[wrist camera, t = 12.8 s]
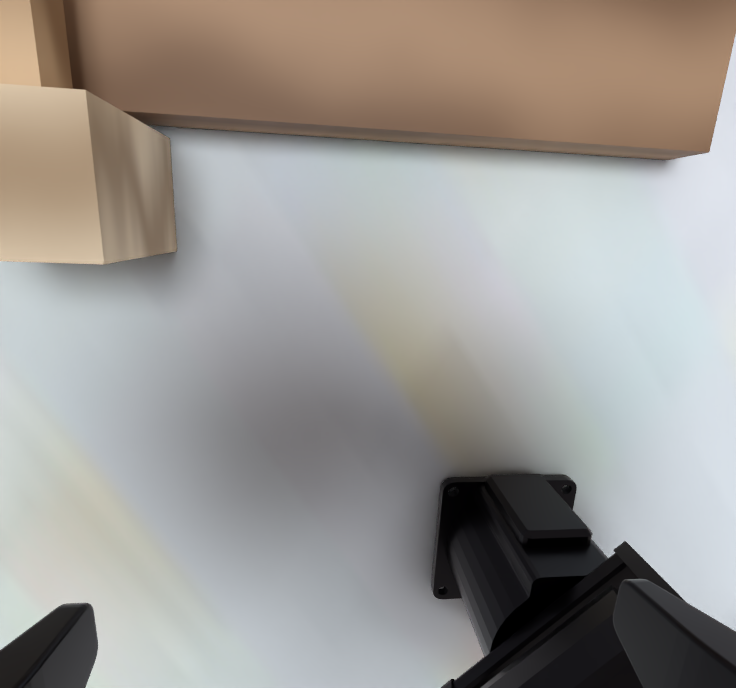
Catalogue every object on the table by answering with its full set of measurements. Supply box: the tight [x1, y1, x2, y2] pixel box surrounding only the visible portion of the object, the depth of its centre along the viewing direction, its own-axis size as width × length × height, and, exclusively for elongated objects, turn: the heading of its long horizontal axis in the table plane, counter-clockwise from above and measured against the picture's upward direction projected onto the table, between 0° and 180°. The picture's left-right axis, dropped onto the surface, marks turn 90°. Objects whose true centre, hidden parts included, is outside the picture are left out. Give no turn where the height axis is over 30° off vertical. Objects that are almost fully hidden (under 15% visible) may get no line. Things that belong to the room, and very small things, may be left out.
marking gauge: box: [0, 0, 177, 264], centre depth 12 cm, size 11×5×6 cm, turn 178°
